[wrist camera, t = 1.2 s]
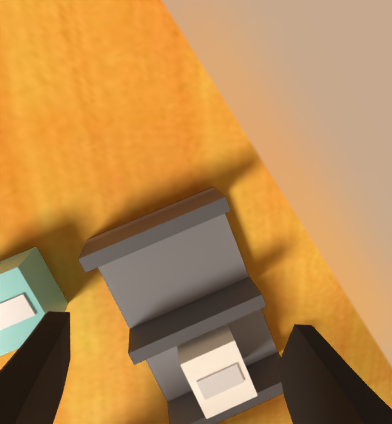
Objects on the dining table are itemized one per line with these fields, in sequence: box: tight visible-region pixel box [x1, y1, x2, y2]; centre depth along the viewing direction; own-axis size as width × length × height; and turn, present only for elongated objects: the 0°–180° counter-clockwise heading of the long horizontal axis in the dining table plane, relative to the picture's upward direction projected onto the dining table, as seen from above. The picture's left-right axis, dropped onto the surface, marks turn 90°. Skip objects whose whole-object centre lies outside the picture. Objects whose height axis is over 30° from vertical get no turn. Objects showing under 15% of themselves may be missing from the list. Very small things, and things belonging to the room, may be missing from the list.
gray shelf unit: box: [78, 187, 283, 424], centre depth 26 cm, size 10×16×4 cm, turn 21°
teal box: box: [0, 247, 68, 356], centre depth 24 cm, size 4×5×4 cm
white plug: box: [177, 324, 258, 419], centre depth 26 cm, size 4×5×4 cm
